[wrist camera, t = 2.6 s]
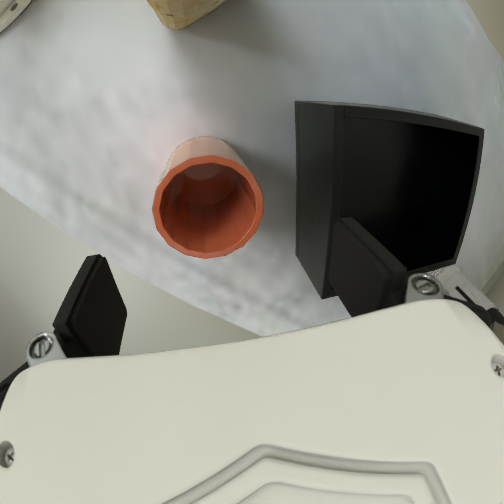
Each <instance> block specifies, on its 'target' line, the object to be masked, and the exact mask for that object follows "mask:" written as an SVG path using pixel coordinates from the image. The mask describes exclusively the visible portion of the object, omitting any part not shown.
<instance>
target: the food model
mask: <svg viewBox="0 0 504 504" xmlns="http://www.w3.org/2000/svg"><path fill="white" fill-rule="evenodd" d="M147 1H148V3H149V4H150V6H151V7H152V8H153V9H154V11H155V13H156V14H157V16H158V17H159V19H160V21H161V22H162V23H163V24H164V25H165V26H167V27H168V28H171V29H174V30H177V29H181V28H184V27H186V26H188V25H190V24H191V23H193V22H195V21H196V20H198V19H200V18H201V17H203V16H204V15H206V14H208V13H209V12H211V11H213V10H214V9H216V8H217V7H218V6H219V5H220V4H222V3H223V2H224V1H226V0H147Z"/></svg>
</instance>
